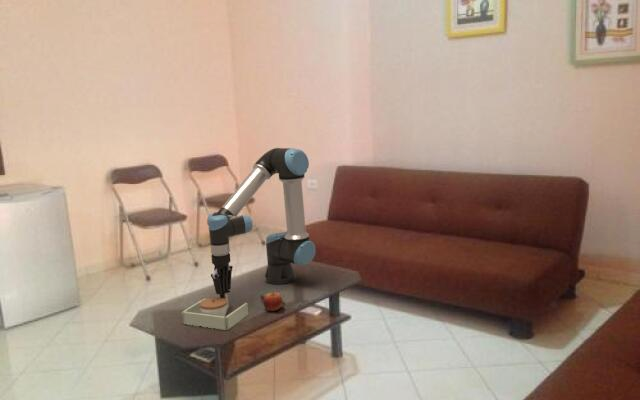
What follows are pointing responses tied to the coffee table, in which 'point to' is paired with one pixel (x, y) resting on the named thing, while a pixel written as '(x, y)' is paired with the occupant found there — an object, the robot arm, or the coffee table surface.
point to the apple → (272, 301)
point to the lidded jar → (214, 306)
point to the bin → (213, 317)
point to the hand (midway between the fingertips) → (225, 308)
